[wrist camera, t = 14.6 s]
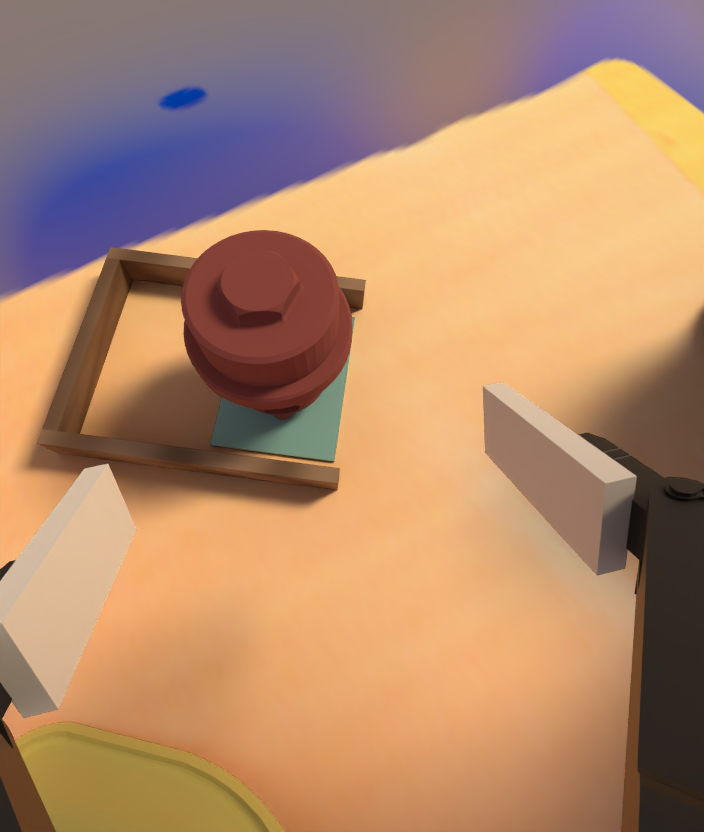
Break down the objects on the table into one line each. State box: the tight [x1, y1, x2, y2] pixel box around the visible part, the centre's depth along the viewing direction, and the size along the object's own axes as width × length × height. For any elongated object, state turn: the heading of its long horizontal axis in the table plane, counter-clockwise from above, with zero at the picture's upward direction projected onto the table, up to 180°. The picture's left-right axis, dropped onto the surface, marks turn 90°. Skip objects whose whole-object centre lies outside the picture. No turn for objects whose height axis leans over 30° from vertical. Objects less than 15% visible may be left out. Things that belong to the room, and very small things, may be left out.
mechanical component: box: [181, 230, 353, 420], centre depth 29 cm, size 12×10×10 cm
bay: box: [37, 247, 366, 490], centre depth 34 cm, size 20×16×2 cm
